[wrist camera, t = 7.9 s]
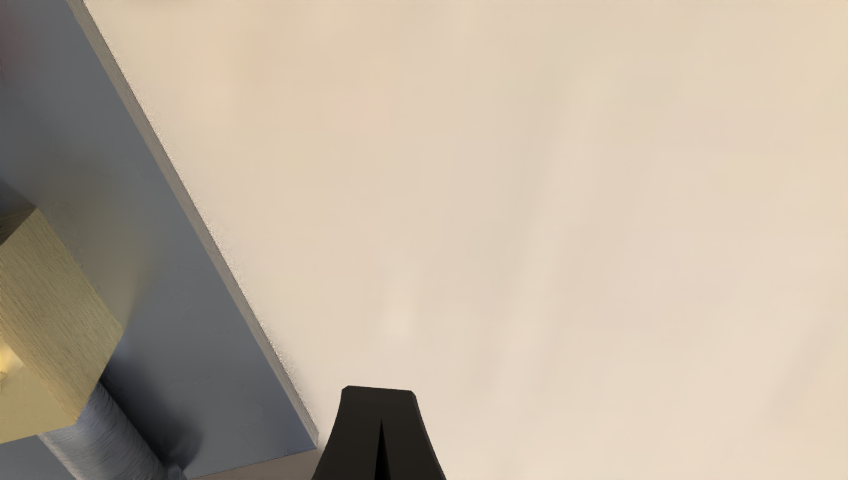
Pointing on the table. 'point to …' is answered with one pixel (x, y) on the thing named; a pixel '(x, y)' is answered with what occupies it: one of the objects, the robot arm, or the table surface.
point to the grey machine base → (115, 284)
